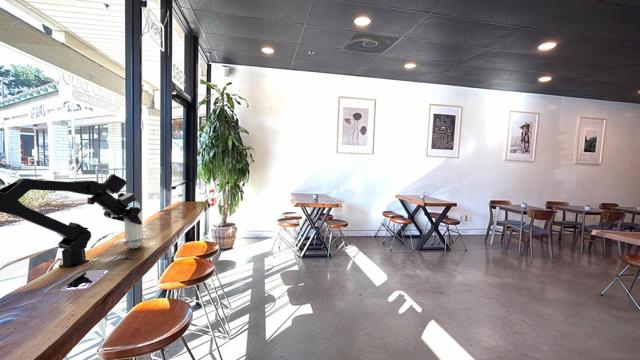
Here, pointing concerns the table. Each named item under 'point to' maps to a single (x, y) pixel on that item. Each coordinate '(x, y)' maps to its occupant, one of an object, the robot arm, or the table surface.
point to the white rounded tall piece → (133, 229)
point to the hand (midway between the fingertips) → (136, 223)
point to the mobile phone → (85, 280)
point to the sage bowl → (134, 243)
